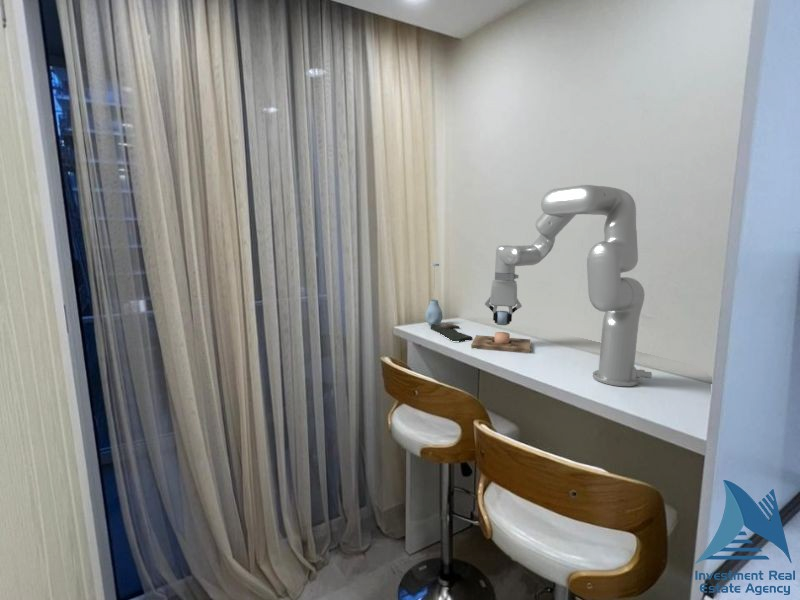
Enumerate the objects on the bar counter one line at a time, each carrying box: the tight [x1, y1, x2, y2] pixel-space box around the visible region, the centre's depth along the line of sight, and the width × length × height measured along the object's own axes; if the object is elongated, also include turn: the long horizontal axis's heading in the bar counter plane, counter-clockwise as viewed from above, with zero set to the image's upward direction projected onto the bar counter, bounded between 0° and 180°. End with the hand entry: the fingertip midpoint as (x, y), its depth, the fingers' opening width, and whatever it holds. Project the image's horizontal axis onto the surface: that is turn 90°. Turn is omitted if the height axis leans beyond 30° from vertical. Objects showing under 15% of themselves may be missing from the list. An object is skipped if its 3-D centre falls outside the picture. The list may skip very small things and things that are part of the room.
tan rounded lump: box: [494, 331, 511, 344], centre depth 167 cm, size 6×6×5 cm
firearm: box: [430, 323, 473, 343], centre depth 186 cm, size 28×2×15 cm
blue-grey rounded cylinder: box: [495, 310, 509, 326], centre depth 165 cm, size 4×4×5 cm
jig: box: [471, 334, 531, 354], centre depth 167 cm, size 22×16×2 cm
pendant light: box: [424, 263, 443, 326], centre depth 201 cm, size 8×8×30 cm
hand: (502, 322), depth 166 cm, fingers closed on blue-grey rounded cylinder, 4 cm apart
